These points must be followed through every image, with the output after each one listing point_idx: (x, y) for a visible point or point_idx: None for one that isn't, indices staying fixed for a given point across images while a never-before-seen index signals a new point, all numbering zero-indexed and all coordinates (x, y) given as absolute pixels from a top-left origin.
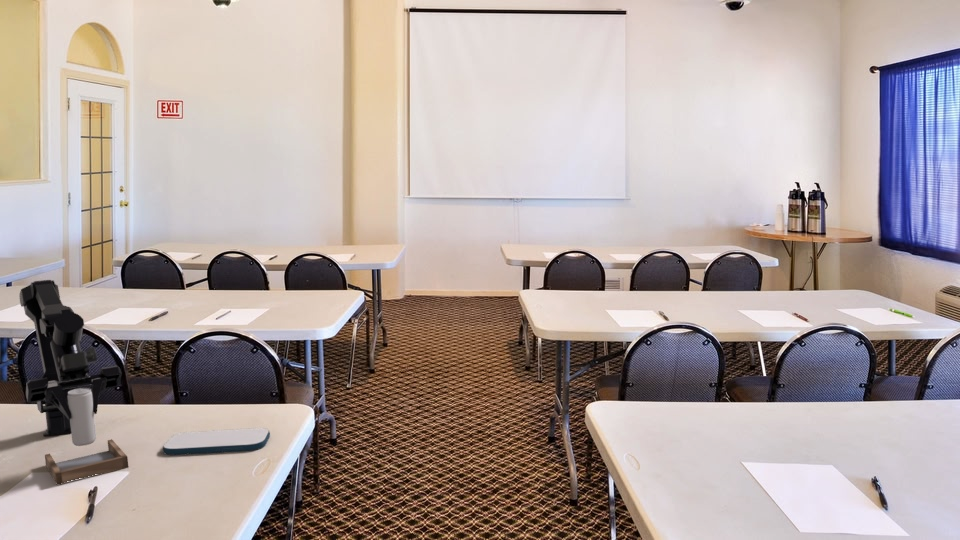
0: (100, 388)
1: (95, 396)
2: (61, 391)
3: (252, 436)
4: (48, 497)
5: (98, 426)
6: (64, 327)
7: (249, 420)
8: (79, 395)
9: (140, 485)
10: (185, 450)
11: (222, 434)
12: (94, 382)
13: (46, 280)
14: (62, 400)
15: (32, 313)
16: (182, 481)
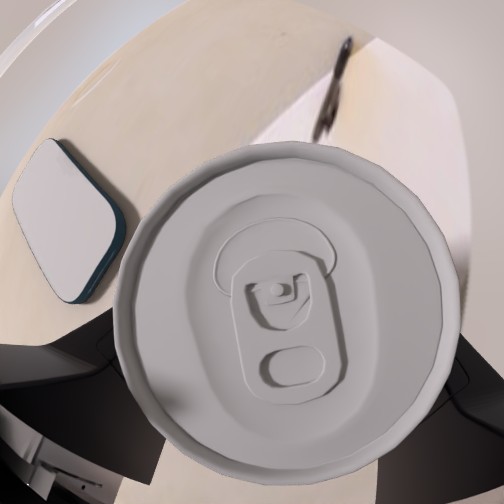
0: (51, 343)
1: None
2: (498, 422)
3: (32, 173)
4: (409, 159)
5: None
6: None
7: (3, 288)
8: (327, 166)
9: (240, 93)
10: (101, 189)
11: (38, 218)
12: (17, 373)
13: None
14: (456, 352)
15: None
16: (181, 76)
